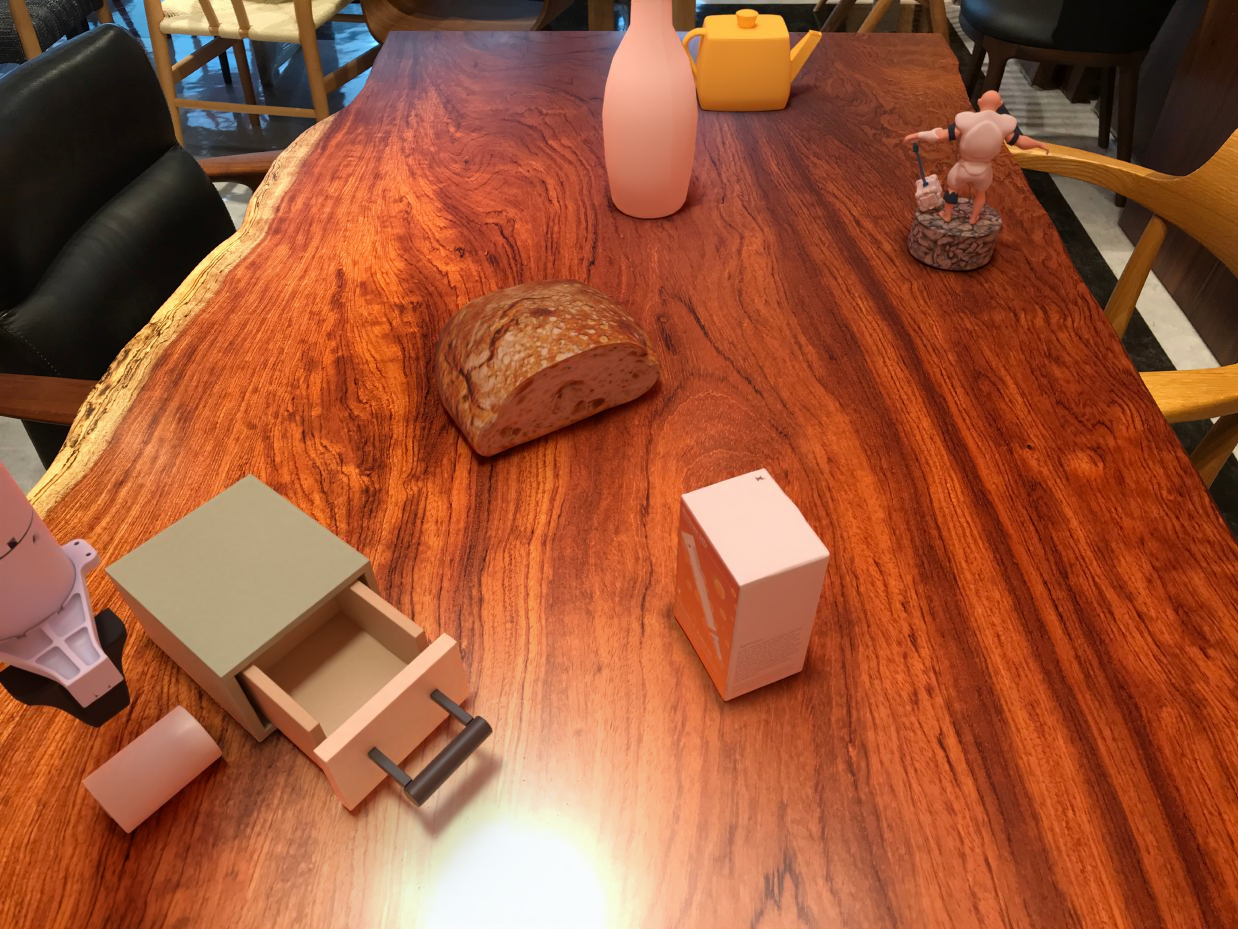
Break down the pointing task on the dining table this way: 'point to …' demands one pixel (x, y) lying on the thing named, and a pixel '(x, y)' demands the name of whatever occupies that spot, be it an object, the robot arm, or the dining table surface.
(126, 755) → the paper towel roll
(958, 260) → the figurine
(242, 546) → the cabinet
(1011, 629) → the dining table surface
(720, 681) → the small box
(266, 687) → the drawer
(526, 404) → the bread
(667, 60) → the bottle
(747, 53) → the teapot
